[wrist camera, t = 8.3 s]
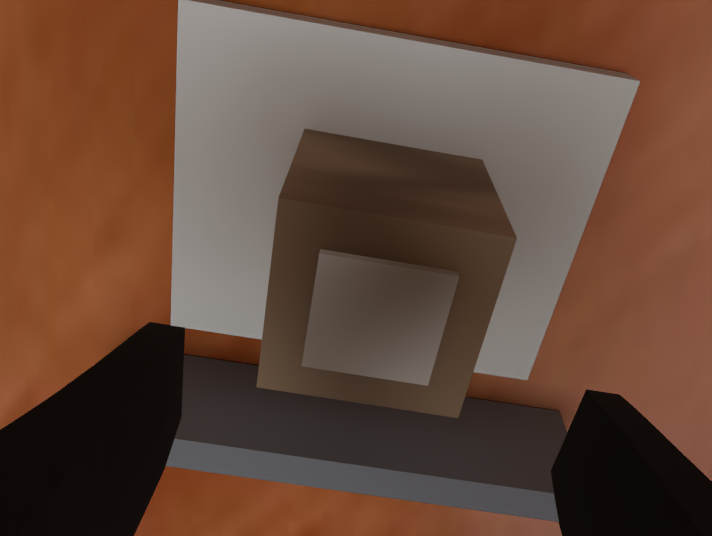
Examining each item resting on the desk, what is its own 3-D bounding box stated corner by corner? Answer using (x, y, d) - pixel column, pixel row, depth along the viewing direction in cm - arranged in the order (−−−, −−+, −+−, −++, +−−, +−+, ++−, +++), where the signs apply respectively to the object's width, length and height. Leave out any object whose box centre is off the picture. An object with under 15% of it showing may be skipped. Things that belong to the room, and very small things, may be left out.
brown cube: (482, 159, 17) (519, 242, 13) (440, 309, 20) (459, 423, 15) (304, 128, 17) (276, 201, 12) (284, 283, 19) (254, 392, 15)
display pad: (626, 73, 17) (640, 81, 16) (521, 362, 22) (527, 380, 21) (188, -6, 16) (178, -2, 16) (179, 309, 21) (170, 325, 20)
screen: (559, 411, 23) (592, 499, 19) (549, 435, 23) (579, 525, 20) (121, 344, 22) (72, 423, 18) (122, 371, 23) (74, 452, 19)
